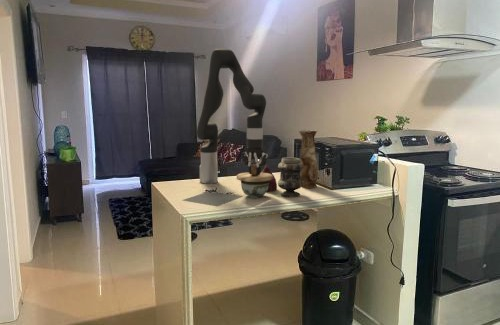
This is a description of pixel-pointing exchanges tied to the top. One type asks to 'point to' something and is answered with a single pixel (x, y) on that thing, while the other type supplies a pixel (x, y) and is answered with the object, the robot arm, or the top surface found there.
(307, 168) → the vase
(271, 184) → the vegetable
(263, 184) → the bowl
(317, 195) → the top surface
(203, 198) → the mat
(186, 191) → the top surface
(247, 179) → the lid
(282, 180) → the apothecary jar
